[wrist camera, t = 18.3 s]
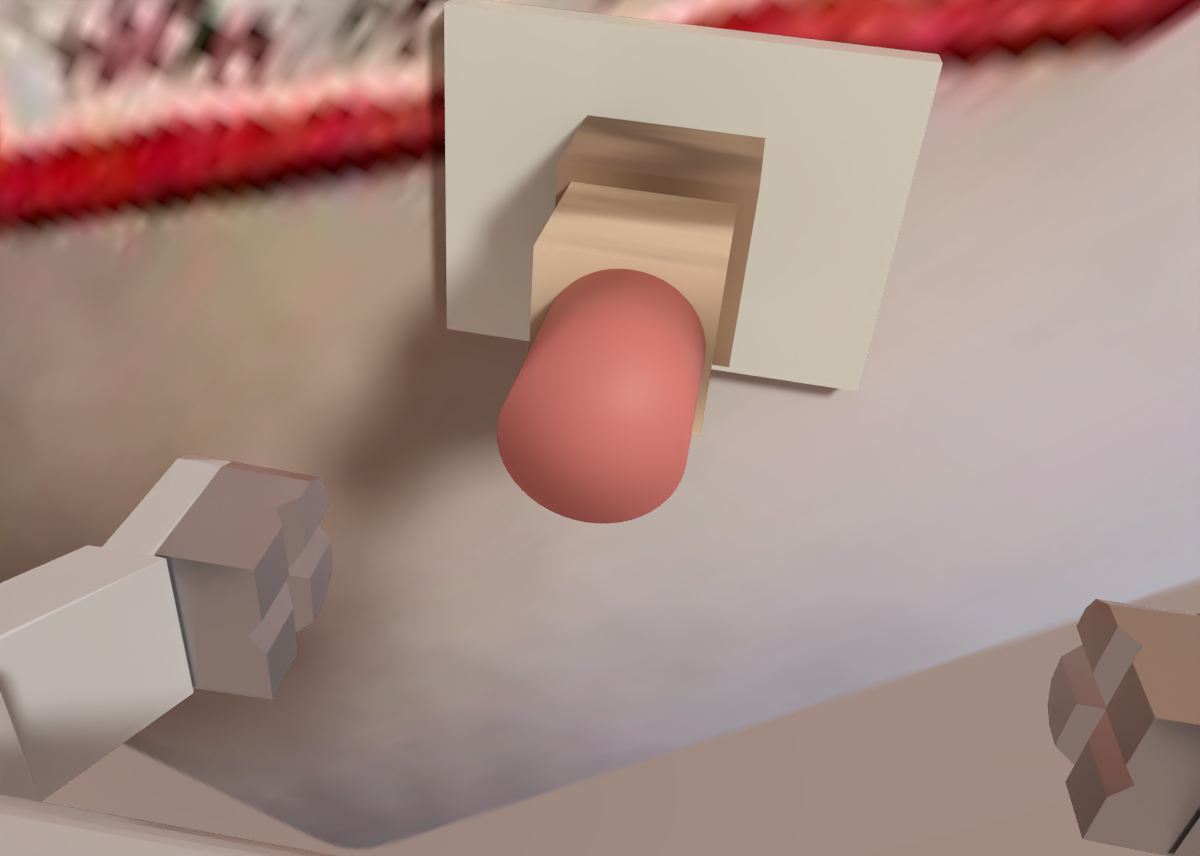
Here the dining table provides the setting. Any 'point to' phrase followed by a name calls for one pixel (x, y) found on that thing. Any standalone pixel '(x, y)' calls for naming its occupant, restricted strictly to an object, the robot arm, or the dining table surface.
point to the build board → (699, 101)
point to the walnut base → (676, 183)
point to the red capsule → (606, 398)
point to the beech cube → (638, 251)
